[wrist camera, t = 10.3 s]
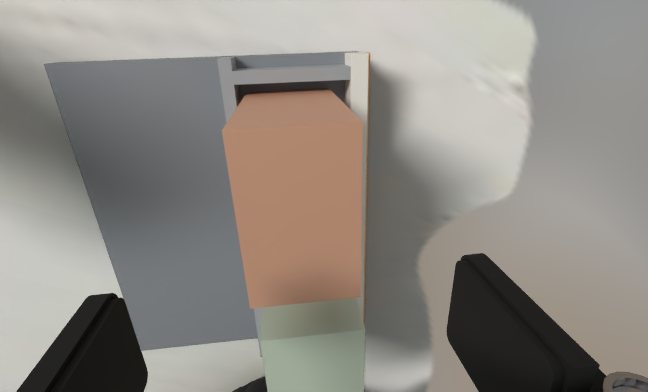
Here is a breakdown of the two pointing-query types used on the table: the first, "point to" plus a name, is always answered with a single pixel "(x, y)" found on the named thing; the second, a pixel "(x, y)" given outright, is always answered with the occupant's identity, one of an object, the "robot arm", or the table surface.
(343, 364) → the carton sage
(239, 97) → the shelf
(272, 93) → the carton rust
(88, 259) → the table surface
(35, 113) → the table surface
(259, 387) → the backpack
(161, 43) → the table surface
